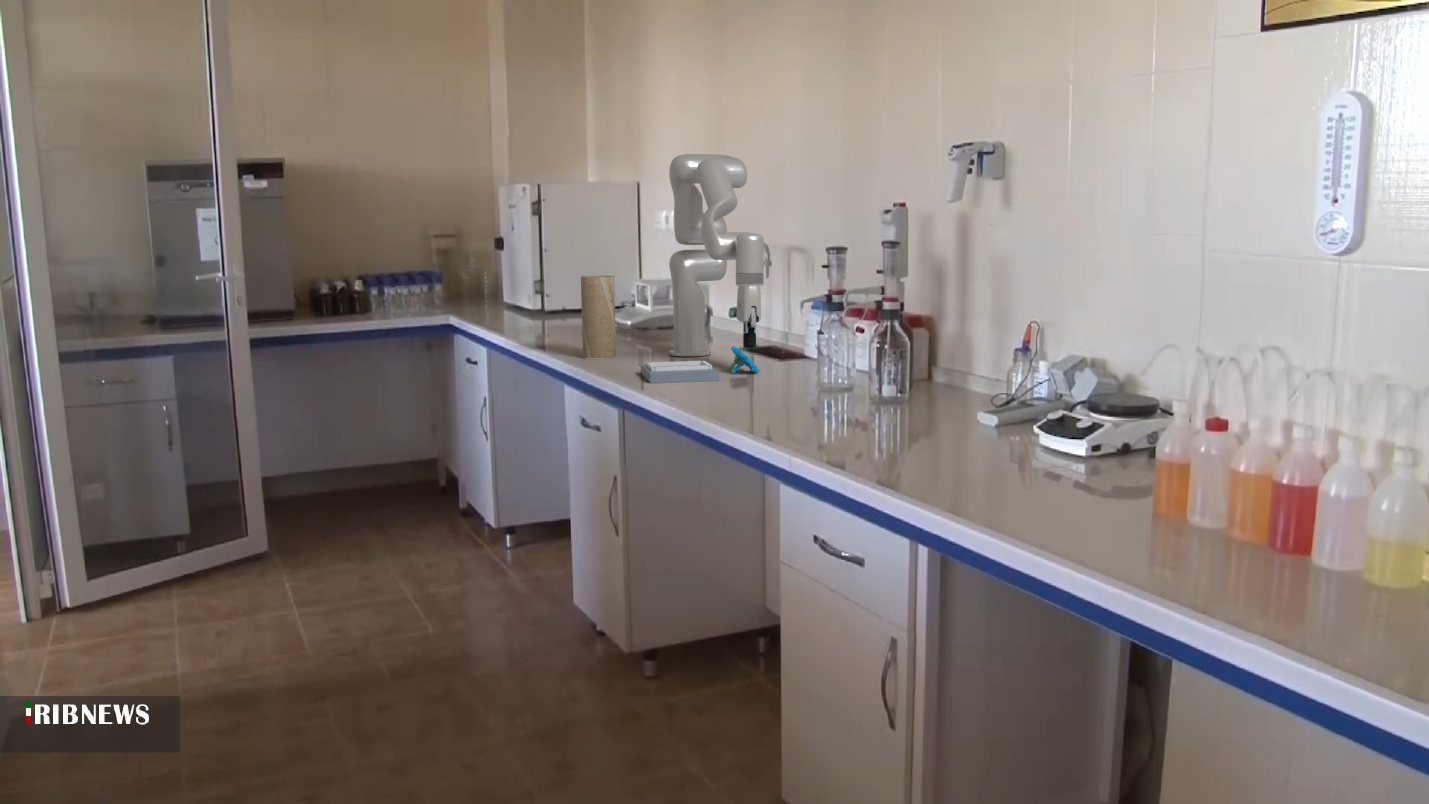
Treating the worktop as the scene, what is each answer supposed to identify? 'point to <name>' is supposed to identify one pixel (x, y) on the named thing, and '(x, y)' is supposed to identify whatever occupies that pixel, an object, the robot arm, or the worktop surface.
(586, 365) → the worktop surface
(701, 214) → the robot arm
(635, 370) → the worktop surface
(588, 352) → the tube
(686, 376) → the plate
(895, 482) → the worktop surface
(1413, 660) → the worktop surface
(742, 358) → the blue cogwheel with peg
